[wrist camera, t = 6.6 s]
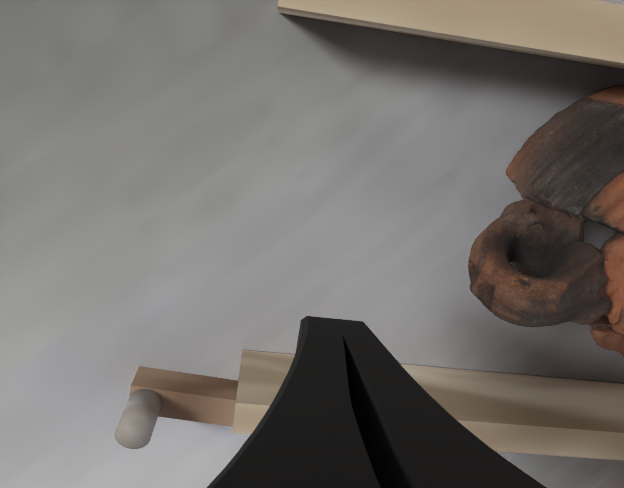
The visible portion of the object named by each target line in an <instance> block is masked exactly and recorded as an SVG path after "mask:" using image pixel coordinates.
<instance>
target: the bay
mask: <svg viewBox="0 0 624 488" xmlns="http://www.w3.org/2000/svg"><path fill="white" fill-rule="evenodd" d="M278 10H279V13H283V14H289V15H295V16H301V17H307V18H313V19H319V20H326V21H332V22H338V23H344V24H350V25H356V26H362V27H369V28H375V29H381V30H387V31H393V32H399V33H405V34H412V35H418V36H424V37H430V38H436V39H442V40H448V41H455V42H461V43H467V44H473V45H479V46H485V47H491V48H497V49H504V50H510V51H516V52H522V53H528V54H534V55H540V56H547V57H553V58H559V59H565V60H571V61H577V62H583V63H590V64H596V65H602V66H608V67H614V68H620V69H624V5H620V4H615V3H609V2H604V1H598V0H278ZM294 356H295V355H294V354H283V353H271V352H260V351H249V350H243V351H242V358H241V366H240V373H239V381H238V388H237V396H236V404H235V413H234V422H233V432H232V433H244V434H252V433H253V431H254V430H255V428H256V427H257V425H258V424H259V422H260V421H261V419H262V418H263V416H264V415H265V413H266V412H267V410H268V408H269V407H270V405H271V403H272V402H273V400H274V398H275V396H276V395H277V393H278V391H279V389H280V387H281V385H282V383H283V381H284V379H285V377H286V375H287V373H288V371H289V369H290V366H291V364H292V361H293V359H294ZM400 365H401V366H402V367H403V368H404V369H405V370H406V371H407V372H408V373H409V374H410V375H411V376H412V377H413V379H414V380H415V381H416V382H417V383H418V384H419V385H420V386H421V387H422V388H423V389H424V390H425V391H426V392H427V393H428V394H429V395H430V396H431V397H432V398H433V399H435V400H436V401H437V402H438V403H439V404H440V405H441V406H442V407H443V408H444V409H445V410H446V411H447V412H448V413H449V414H450V415H452V416H453V417H454V418H455V419H456V420H457V421H458V422H460V423H461V424H462V425H463V426H464V427H465V428H467V429H468V430H469V431H470V432H472V433H473V434H474V435H475V436H477V437H478V438H479V439H480V440H481V441H483V442H484V443H485V444H486V445H488V446H489V447H490V448H491V449H493V450H494V451H498V452H512V453H526V454H540V455H554V456H568V457H582V458H596V459H611V460H624V384H620V383H609V382H597V381H586V380H575V379H564V378H552V377H541V376H530V375H519V374H507V373H496V372H485V371H474V370H463V369H451V368H440V367H429V366H418V365H406V364H400Z"/></svg>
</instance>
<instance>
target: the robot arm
mask: <svg viewBox="0 0 624 488" xmlns="http://www.w3.org/2000/svg"><path fill="white" fill-rule="evenodd" d="M207 488H546V487H545V486H543V485H542V484H540V483H539V482H537V481H536V480H534V479H533V478H532V477H530V476H529V475H527V474H526V473H524V472H523V471H522V470H520V469H519V468H517V467H516V466H514V465H513V464H512V463H510V462H509V461H507V460H506V459H505V458H503V457H502V456H501V455H499V454H498V453H497V452H495V451H494V450H493V449H491V448H490V447H489V446H488V445H486V444H485V443H484V442H483V441H481V440H480V439H479V438H478V437H477V436H475V435H474V434H473V433H472V432H470V431H469V430H468V429H467V428H465V427H464V426H463V425H462V424H461V423H460V422H458V421H457V420H456V419H455V418H454V417H453V416H452V415H450V414H449V413H448V412H447V411H446V410H445V409H444V408H443V407H442V406H441V405H440V404H439V403H438V402H437V401H436V400H435V399H433V398H432V397H431V396H430V395H429V394H428V393H427V392H426V391H425V390H424V389H423V388H422V387H421V386H420V385H419V384H418V383H417V382H416V381H415V380H414V379H413V377H412V376H411V375H410V374H409V373H408V372H407V371H406V370H405V369H404V368H403V367H402V366H401V365H400V363H399V362H398V361H397V360H396V359H395V358H394V357H393V356H392V354H391V353H390V352H389V351H388V350H387V349H386V348H385V346H384V345H383V344H382V343H381V342H380V341H379V339H378V338H377V337H376V336H375V335H374V334H373V332H372V331H371V330H370V329H369V328H368V327H367V326H366V325H365V323H364V322H362V321H352V320H342V319H331V318H321V317H311V316H307V317H305V318H304V319H302V320H301V324H300V330H299V336H298V342H297V349H296V354H295V356H294V359H293V361H292V364H291V366H290V369H289V371H288V373H287V375H286V377H285V379H284V381H283V383H282V385H281V387H280V389H279V391H278V393H277V395H276V396H275V398H274V400H273V402H272V403H271V405H270V407H269V408H268V410H267V412H266V413H265V415H264V416H263V418H262V419H261V421H260V422H259V424H258V425H257V427H256V428H255V430H254V431H253V433H252V434H251V435H250V437H249V438H248V439H247V441H246V442H245V443H244V445H243V446H242V447H241V449H240V450H239V451H238V453H237V454H236V455H235V456H234V457H233V459H232V460H231V461H230V462H229V464H228V465H227V466H226V467H225V468H224V469H223V471H222V472H221V473H220V474H219V475H218V476H217V477H216V478H215V479H214V480H213V481H212V483H211V484H210V485H209V486H208V487H207Z"/></svg>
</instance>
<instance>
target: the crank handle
mask: <svg viewBox="0 0 624 488" xmlns="http://www.w3.org/2000/svg"><path fill="white" fill-rule="evenodd" d="M237 388H238V381H236V380H229V379H222V378H215V377H209V376H202V375H195V374H188V373H181V372H175V371H168V370H161V369H154V368H147V367H140V366H139V369H138V371H137V373H136V375H135V378H134V380H133V382H132V384H131V390H130V398H129V400H128V403H127V405H126V407H125V410H124V412H123V414H122V417H121V419H120V421H119V424H118V426H117V428H116V431H115V438H116V440H117V442H118V443H119V444H120V445H122V446H124V447H126V448H130V449H139V448H142V447H144V446H146V445H147V444H148V443H149V441H150V438H151V435H152V432H153V429H154V426H155V423H156V421H157V418H158V416H159V417H167V418H174V419H181V420H189V421H196V422H203V423H211V424H218V425H225V426H233V422H234V413H235V404H236V396H237Z"/></svg>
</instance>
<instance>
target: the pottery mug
mask: <svg viewBox="0 0 624 488" xmlns="http://www.w3.org/2000/svg"><path fill="white" fill-rule="evenodd" d="M506 175H507V176H508V177H509V179H510V180H511V181H512V182H514V183H515V184H516V189H517V190H518V191H519V192H520V193H521V195H522V198H523V200H521V201H517V202H513V203H512V204H509V205H508V206H507V207H506V208H505V209H504V211H503V212H502V214H501V216H500V217H499V218H498V219H496V220H495V221H494V222H492V223H491V224H490V225H489V226H488V227H487V228H486V229H485V230H484V231H483V232H482V233H481V234H480V235H479V236H478V237H477V238H476V239H475V241H474V243H473V245H472V248H471V253H470V257H469V263H468V269H469V277H470V281H471V284H470V290H471V292H472V293H473V294H474V295H475V296H476V297H477V298H478V299H479V300H480V301H481V302H482V303H483V305H484V306H485V307H487V309H488V310H490V311H491V312H492V313H493V314H494V315H496V316H497V317H499V318H500V319H502V320H505V321H507V322H509V323H512V324H516V325H519V326H525V327H542V326H552V325H557V324H560V323H564V322H568V321H572V322H575V323H578V324H588V325H590V326H592V328H591V335H592V336H593V338H594V340H595V341H596V343H597V345H598V346H600V347H601V348H603V349H607V350H614V351H618V352H619V353H621V354H622V356H623V357H624V86H616V87H612V88H608V89H603V90H600V91H598V92H596V93H594V94H591V95H589V96H588V97H586V98H582V99H580V100H578V101H577V102H575V103H573V104H572V105H570V106H569V107H567V108H566V109H564V110H562V111H560V112H558V113H556V114H555V115H554V116H553V117H552V118H551V119H550V120H549V121H548V122H547V123H545V124H544V125H543V126H541V127H540V128H538V129H537V130H536V131H535V133H534V134H533V135H531V136H530V137H529V138H528V140H527V141H526V142H525V143H524V145H523V146H522V148H521V149H520V150H519V151H518V153H517V154H516V156H515V157H514V158H513V160H512V162H511V163H510V165H509V167H508V168H507V170H506ZM588 220H589V221H593V222H597V223H599V224H601V225H604V226H606V227H609V228H612V229H613V230H615V231H616V233H615V234H614V236H612V237H611V238H609V239H608V240H607V241H606V242H605V243H604V244H603V247H602V248H601V250H598V249H597V248H596V247H595V246H593V245H591V244H589V243H585V242H584V232H583V229H584V222H585V221H588ZM510 262H512V263H513V265H514V266H516V267H517V268H518V269H519V270H520V272H519V271H518V270H516V269H515V268H514V267H513V266H512V265H511V264H510Z"/></svg>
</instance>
